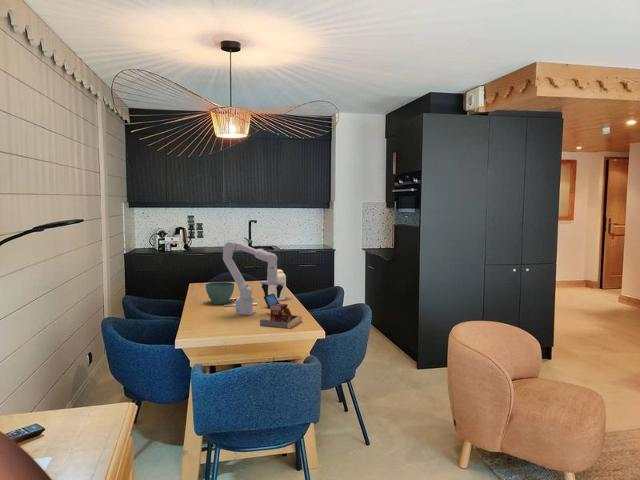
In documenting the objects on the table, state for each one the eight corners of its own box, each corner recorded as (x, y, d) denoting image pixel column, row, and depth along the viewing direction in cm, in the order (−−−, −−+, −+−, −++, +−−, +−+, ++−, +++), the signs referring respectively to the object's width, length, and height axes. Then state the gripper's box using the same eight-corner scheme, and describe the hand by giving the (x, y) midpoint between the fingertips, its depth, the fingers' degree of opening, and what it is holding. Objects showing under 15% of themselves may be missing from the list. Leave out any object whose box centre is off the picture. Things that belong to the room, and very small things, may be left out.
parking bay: (259, 325, 254) (259, 319, 254) (272, 318, 269) (272, 313, 269) (290, 328, 249) (290, 322, 248) (301, 321, 264) (301, 316, 263)
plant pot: (237, 304, 306) (237, 285, 305) (208, 306, 299) (208, 287, 298) (231, 299, 323) (231, 281, 322) (203, 301, 316) (203, 282, 315)
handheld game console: (277, 310, 292) (277, 298, 291) (263, 308, 297) (262, 296, 296) (288, 306, 303) (288, 294, 303) (273, 304, 308) (273, 293, 307)
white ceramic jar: (265, 300, 318) (265, 270, 317) (269, 297, 330) (269, 268, 329) (283, 301, 316) (283, 271, 315) (287, 297, 329) (287, 268, 327)
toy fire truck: (288, 326, 254) (288, 306, 253) (267, 324, 258) (267, 304, 257) (293, 322, 260) (293, 304, 260) (272, 321, 264) (272, 302, 264)
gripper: (258, 274, 280) (258, 297, 281) (280, 276, 275) (280, 299, 276) (263, 273, 286) (263, 295, 287) (285, 274, 281) (285, 297, 282)
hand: (272, 297), depth 282 cm, fingers open, 7 cm apart
